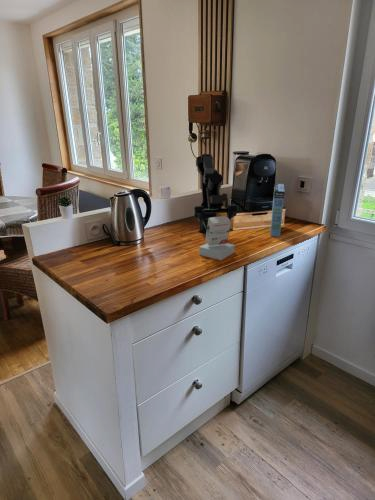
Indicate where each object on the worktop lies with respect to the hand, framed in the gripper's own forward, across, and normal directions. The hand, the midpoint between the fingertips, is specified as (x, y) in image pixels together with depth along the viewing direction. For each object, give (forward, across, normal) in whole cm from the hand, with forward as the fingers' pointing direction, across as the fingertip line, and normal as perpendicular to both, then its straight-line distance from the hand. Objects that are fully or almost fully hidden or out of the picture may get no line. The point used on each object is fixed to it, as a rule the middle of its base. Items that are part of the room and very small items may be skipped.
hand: (217, 228), depth 143 cm
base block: (+8, 0, +9) cm, 12 cm away
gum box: (-11, +36, +29) cm, 47 cm away
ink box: (+4, 0, +6) cm, 7 cm away
